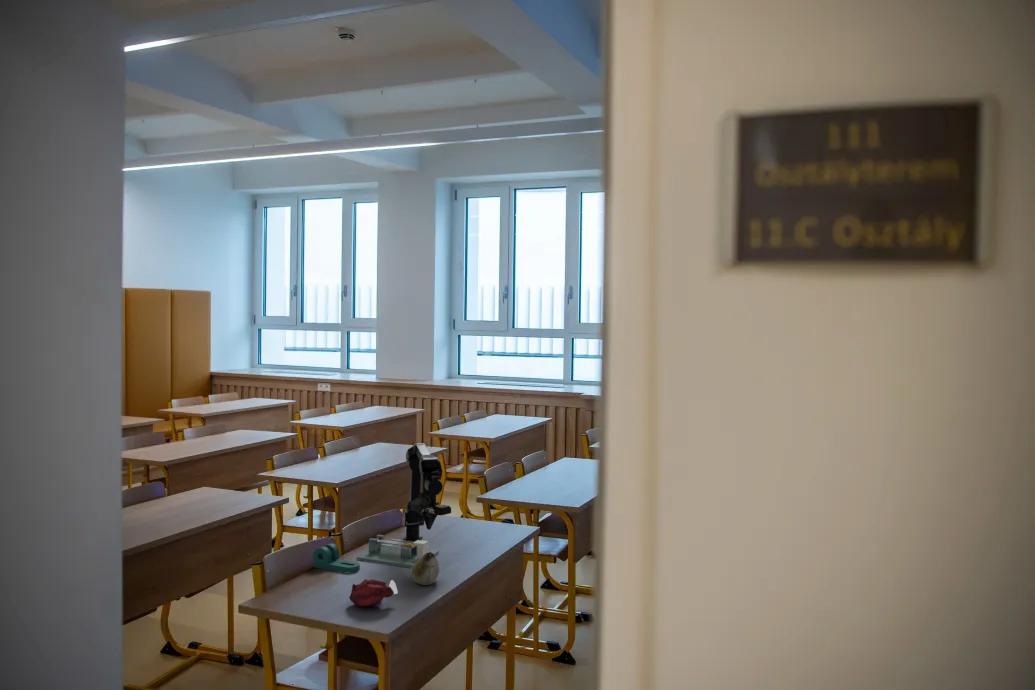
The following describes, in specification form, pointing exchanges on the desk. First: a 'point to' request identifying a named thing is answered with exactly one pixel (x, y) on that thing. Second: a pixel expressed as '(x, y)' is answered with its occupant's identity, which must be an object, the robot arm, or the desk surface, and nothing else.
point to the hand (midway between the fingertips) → (428, 529)
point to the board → (391, 558)
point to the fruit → (426, 569)
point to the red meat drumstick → (371, 592)
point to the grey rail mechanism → (391, 548)
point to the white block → (421, 548)
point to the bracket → (333, 560)
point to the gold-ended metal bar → (396, 543)
